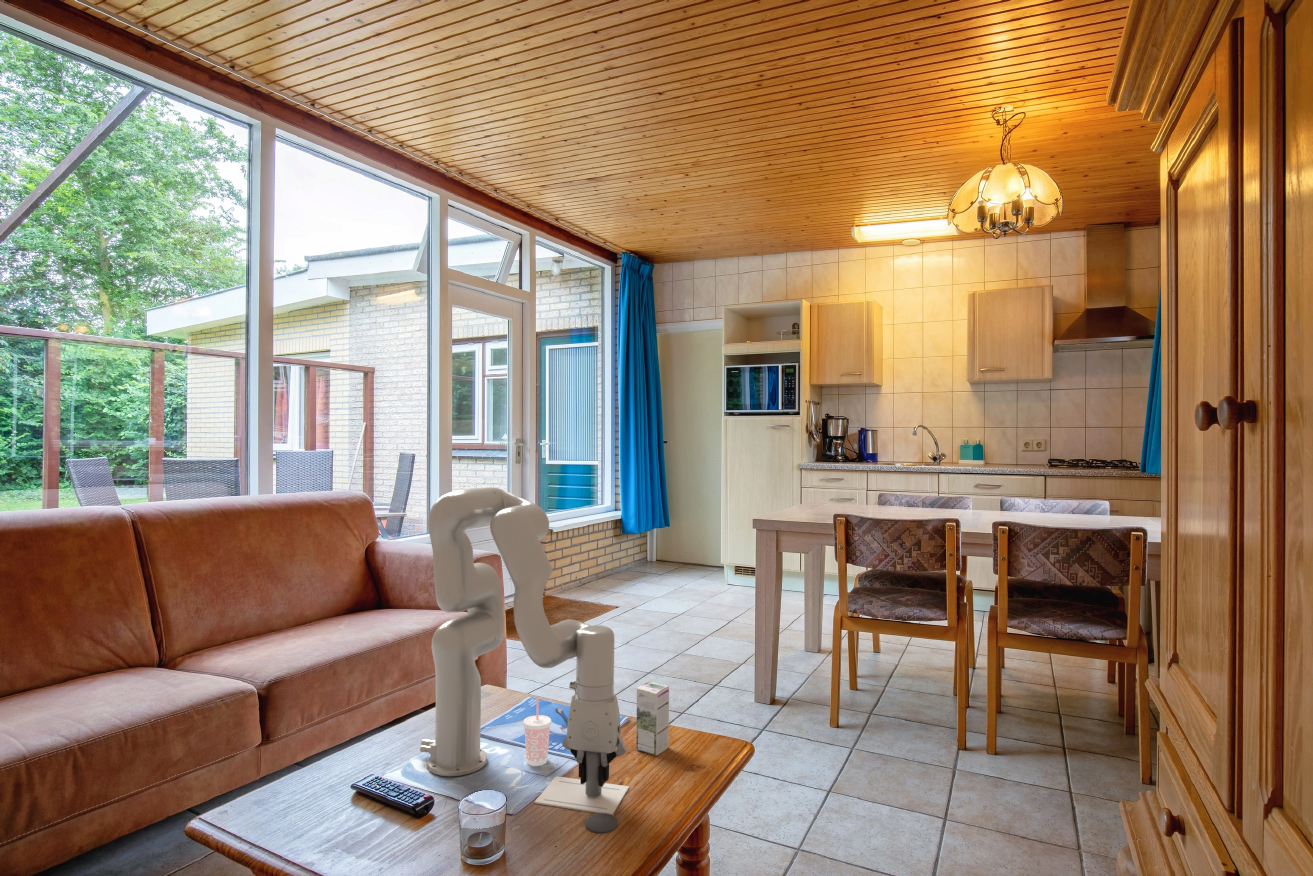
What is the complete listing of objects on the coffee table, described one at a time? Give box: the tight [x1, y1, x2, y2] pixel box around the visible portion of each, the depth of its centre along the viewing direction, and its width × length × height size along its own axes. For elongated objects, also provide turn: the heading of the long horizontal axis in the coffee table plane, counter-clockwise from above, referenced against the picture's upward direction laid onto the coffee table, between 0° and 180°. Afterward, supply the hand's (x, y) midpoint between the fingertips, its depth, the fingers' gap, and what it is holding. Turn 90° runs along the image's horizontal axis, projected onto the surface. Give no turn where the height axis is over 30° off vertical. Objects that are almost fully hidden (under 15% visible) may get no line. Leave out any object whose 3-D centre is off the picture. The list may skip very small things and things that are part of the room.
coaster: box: [584, 813, 619, 834], centre depth 132 cm, size 6×6×1 cm
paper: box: [534, 776, 630, 816], centre depth 143 cm, size 16×11×1 cm
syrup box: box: [635, 681, 670, 756], centre depth 165 cm, size 6×6×14 cm
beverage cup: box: [522, 697, 552, 767], centre depth 158 cm, size 6×6×14 cm
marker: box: [585, 751, 602, 797], centre depth 142 cm, size 3×3×11 cm
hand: (593, 781), depth 142 cm, fingers closed on marker, 3 cm apart
